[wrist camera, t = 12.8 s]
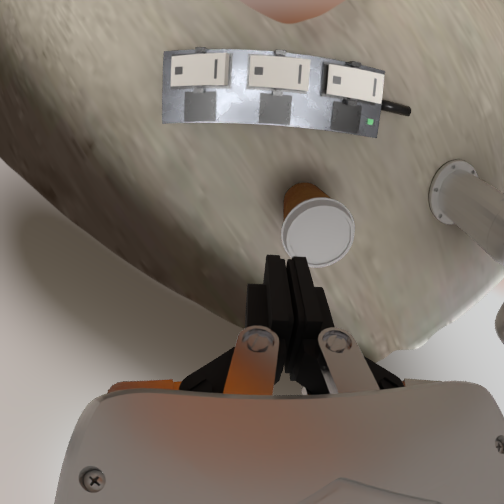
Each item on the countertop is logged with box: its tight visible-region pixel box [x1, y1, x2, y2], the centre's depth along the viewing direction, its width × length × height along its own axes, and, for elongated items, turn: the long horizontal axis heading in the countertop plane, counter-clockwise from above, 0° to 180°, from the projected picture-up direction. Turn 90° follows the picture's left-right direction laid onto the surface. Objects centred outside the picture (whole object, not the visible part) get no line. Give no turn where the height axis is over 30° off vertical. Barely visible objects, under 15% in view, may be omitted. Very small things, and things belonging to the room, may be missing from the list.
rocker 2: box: [249, 55, 311, 91], centre depth 30 cm, size 7×4×1 cm, turn 87°
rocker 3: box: [326, 64, 384, 104], centre depth 31 cm, size 7×4×1 cm, turn 87°
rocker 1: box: [171, 53, 229, 87], centre depth 30 cm, size 7×4×1 cm, turn 87°
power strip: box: [162, 47, 411, 138], centre depth 34 cm, size 35×10×6 cm, turn 87°
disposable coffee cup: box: [281, 183, 355, 268], centre depth 40 cm, size 10×10×12 cm
